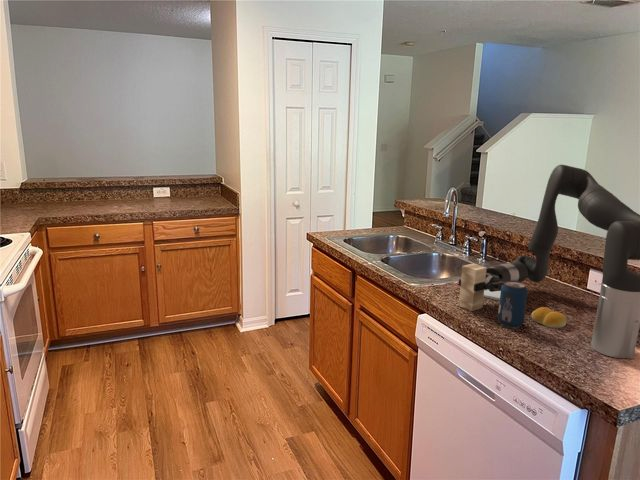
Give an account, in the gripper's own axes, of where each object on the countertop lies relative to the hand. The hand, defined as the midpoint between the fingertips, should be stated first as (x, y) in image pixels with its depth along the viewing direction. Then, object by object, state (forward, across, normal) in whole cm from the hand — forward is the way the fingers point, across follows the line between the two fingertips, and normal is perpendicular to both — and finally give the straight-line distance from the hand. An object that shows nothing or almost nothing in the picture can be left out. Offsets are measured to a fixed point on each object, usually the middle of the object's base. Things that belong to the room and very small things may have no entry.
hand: (467, 285), depth 143 cm
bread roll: (-13, +19, +8) cm, 25 cm away
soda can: (-2, +14, +8) cm, 16 cm away
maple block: (-3, 0, +8) cm, 8 cm away
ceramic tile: (-19, -6, +8) cm, 21 cm away
